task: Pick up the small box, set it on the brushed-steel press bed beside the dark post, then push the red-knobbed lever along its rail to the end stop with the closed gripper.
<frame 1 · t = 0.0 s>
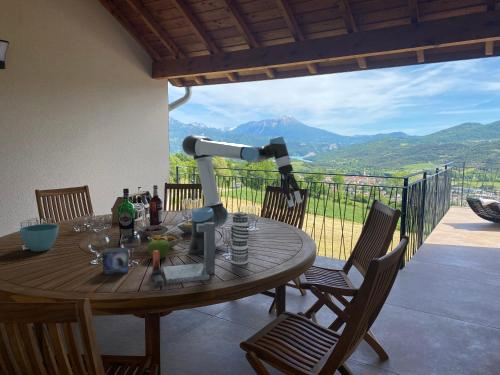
hand: (295, 204, 181), 28 cm above the table, tool tilted 20°, fingers open, 13 cm apart
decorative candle: (239, 261, 174), on the table
small box: (116, 272, 157), on the table
lever: (156, 261, 154), point 6 cm above the table, slide at 0.0 cm
apple: (159, 258, 178), on the table
press: (187, 274, 155), on the table
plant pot: (40, 249, 190), on the table
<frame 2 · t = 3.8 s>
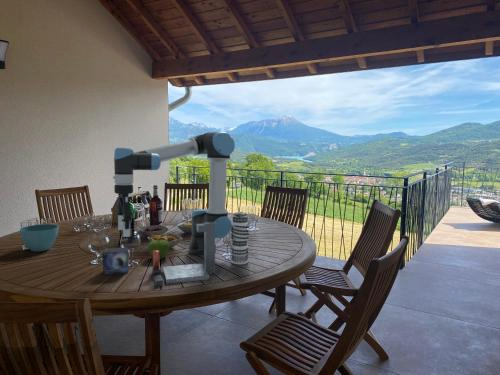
hand: (124, 233, 150), 19 cm above the table, tool pointing down, fingers open, 13 cm apart
nothing on the table moved.
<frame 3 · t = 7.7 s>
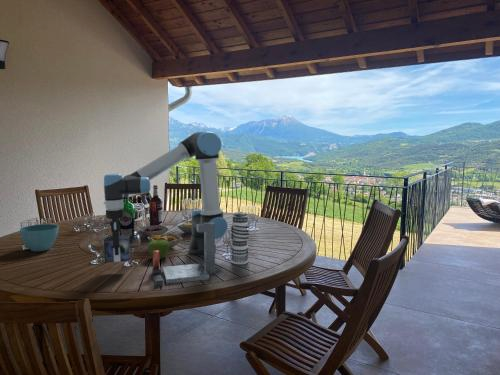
hand: (117, 259, 157), 6 cm above the table, tool pointing down, fingers closed on small box, 7 cm apart
small box: (118, 260, 157), point 5 cm above the table, touching gripper
everything else where it was.
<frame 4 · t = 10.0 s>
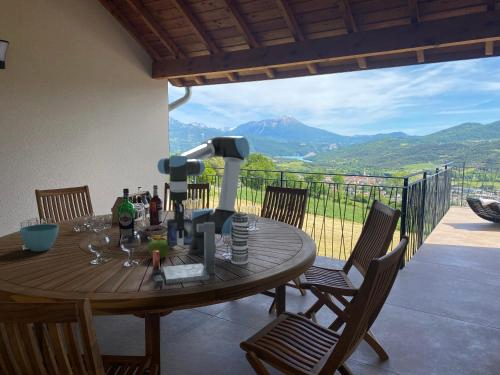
hand: (179, 243, 152), 15 cm above the table, tool pointing down, fingers closed on small box, 7 cm apart
small box: (179, 244, 152), point 14 cm above the table, touching gripper
everything else where it was.
when the fingers open (3 cm above the table, at t = 12.5 s): small box stays where it is, resting on press.
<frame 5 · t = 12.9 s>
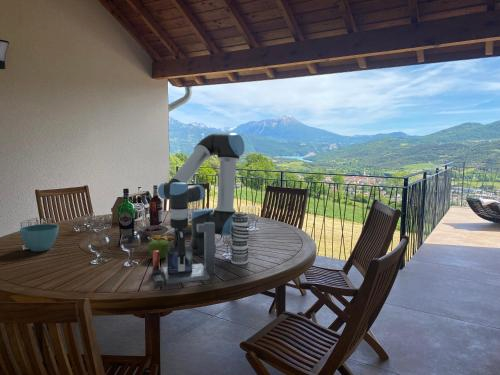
hand: (179, 266, 153), 4 cm above the table, tool pointing down, fingers open, 12 cm apart
small box: (179, 271, 153), point 2 cm above the table, touching press
everything else where it was.
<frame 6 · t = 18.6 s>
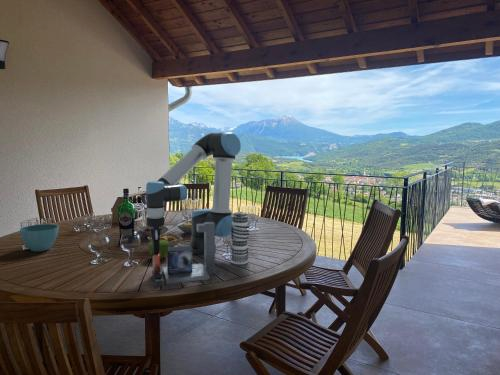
hand: (156, 268, 154), 3 cm above the table, tool pointing down, fingers closed
lever: (157, 265, 149), point 6 cm above the table, slide at 5.6 cm, touching hand
everything else where it was.
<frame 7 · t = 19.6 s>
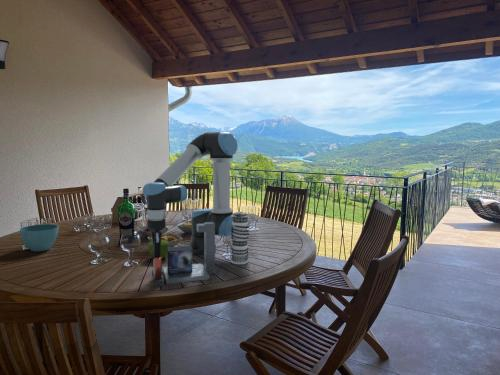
hand: (156, 272, 150), 3 cm above the table, tool pointing down, fingers closed
lever: (158, 268, 145), point 6 cm above the table, slide at 10.1 cm, touching hand
everything else where it was.
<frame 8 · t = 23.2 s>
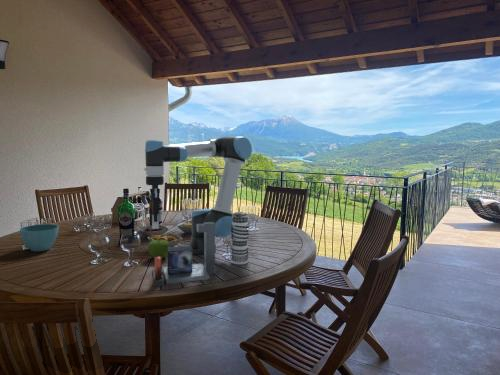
hand: (155, 228, 155), 20 cm above the table, tool pointing down, fingers closed
lever: (158, 268, 145), point 6 cm above the table, slide at 10.0 cm
everything else where it was.
at the end: small box inside the target area on the press (0.2 cm from its centre), point 1.8 cm above the press's base; lever slide at 10.0 cm; the gripper is holding nothing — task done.
